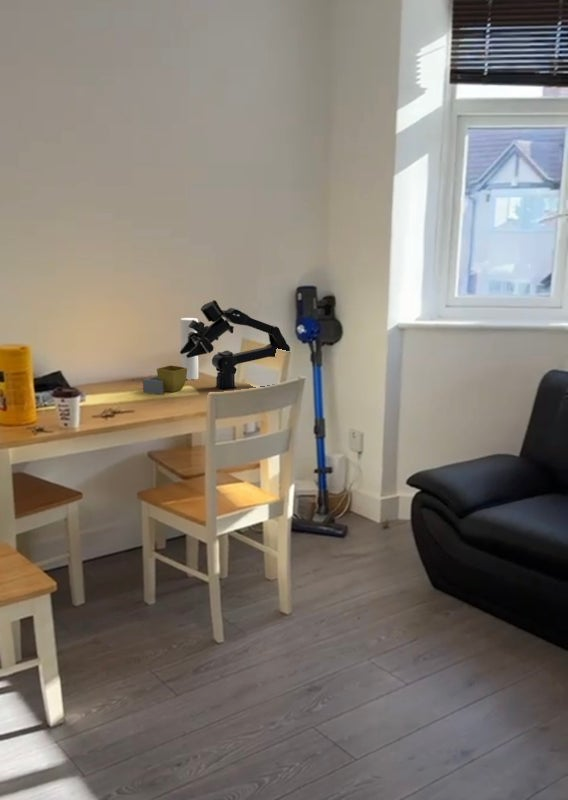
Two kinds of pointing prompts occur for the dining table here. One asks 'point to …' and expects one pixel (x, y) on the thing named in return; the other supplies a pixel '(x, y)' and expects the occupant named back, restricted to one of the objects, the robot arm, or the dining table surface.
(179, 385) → the flower pot
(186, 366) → the cylindrical container
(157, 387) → the V-block
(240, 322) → the robot arm
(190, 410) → the dining table surface
